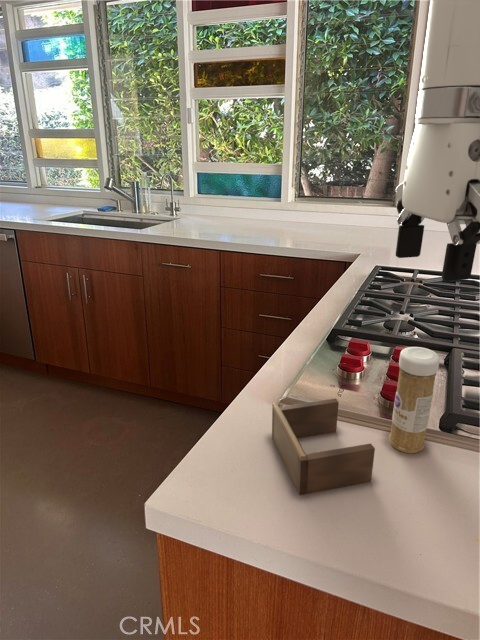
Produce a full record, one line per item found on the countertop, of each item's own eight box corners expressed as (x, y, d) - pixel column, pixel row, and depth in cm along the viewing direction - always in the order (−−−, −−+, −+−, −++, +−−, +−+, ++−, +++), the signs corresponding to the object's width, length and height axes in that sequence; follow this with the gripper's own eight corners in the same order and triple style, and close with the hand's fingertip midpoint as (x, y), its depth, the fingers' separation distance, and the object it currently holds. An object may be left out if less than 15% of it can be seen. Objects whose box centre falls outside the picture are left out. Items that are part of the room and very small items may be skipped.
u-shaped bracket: (333, 428, 65) (336, 394, 63) (371, 482, 55) (375, 444, 53) (271, 438, 63) (272, 403, 61) (299, 496, 53) (300, 456, 51)
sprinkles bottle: (381, 437, 63) (392, 348, 58) (409, 430, 64) (423, 343, 59) (403, 458, 59) (416, 364, 54) (432, 450, 60) (448, 358, 55)
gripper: (552, 105, 41) (510, 287, 48) (437, 111, 57) (417, 248, 63) (478, 105, 40) (446, 292, 46) (381, 111, 55) (367, 251, 62)
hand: (429, 267), depth 55 cm, fingers open, 9 cm apart
